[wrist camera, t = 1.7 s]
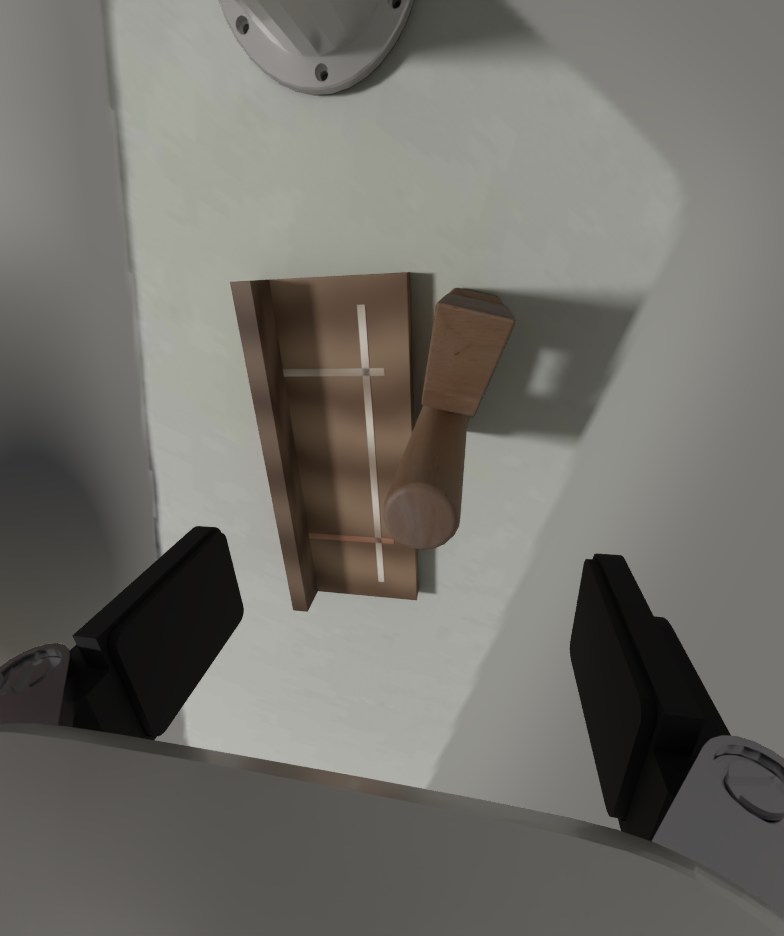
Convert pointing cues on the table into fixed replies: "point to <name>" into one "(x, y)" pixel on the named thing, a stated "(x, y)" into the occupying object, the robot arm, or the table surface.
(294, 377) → the marking board
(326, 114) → the table surface
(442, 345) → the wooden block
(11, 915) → the robot arm
